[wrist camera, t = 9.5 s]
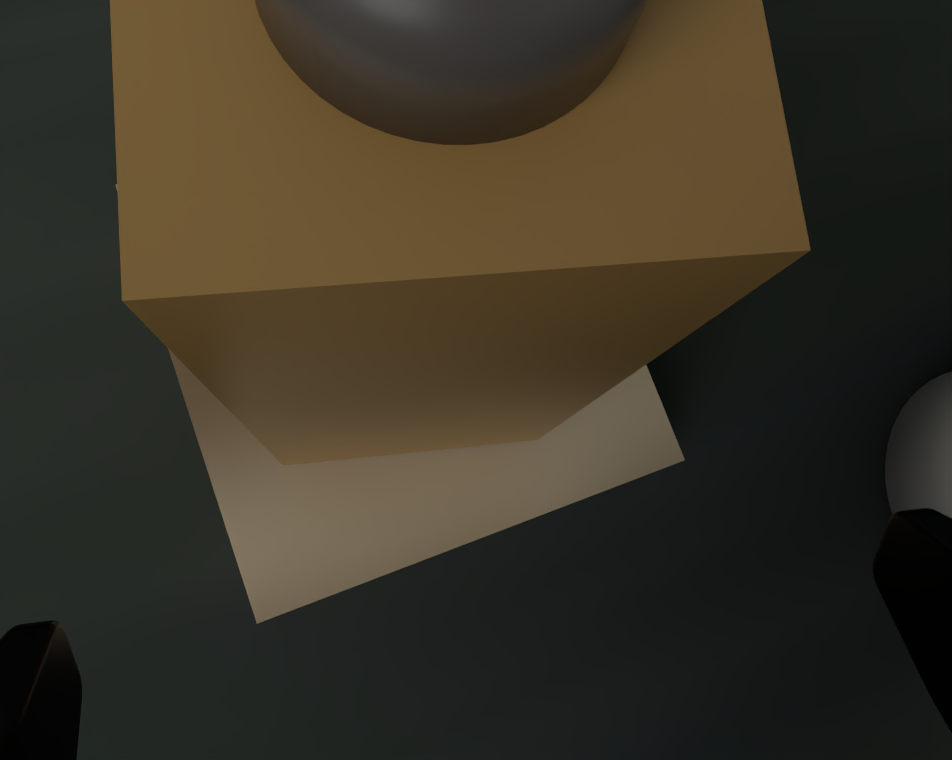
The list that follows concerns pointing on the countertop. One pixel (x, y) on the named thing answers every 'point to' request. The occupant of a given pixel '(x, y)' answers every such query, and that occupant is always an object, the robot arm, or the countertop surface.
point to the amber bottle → (441, 203)
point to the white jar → (922, 451)
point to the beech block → (408, 492)
